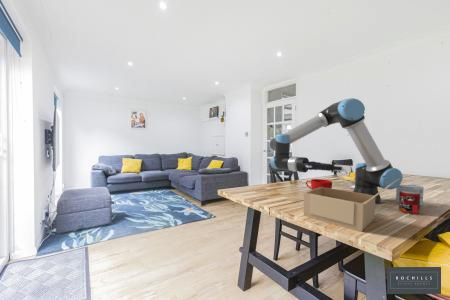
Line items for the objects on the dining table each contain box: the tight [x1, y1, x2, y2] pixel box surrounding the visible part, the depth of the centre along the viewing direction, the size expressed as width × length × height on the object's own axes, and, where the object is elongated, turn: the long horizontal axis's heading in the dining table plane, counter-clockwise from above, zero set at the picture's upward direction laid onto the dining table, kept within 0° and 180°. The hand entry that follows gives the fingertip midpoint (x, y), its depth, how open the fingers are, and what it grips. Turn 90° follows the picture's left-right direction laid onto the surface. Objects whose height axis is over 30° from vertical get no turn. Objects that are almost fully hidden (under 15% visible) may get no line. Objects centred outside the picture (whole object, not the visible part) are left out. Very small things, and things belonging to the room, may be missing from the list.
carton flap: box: [364, 179, 399, 204], centre depth 85 cm, size 12×19×1 cm
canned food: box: [398, 189, 421, 215], centre depth 107 cm, size 8×8×11 cm
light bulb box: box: [395, 184, 424, 206], centre depth 123 cm, size 11×7×11 cm, turn 84°
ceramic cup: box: [305, 178, 333, 190], centre depth 140 cm, size 13×17×10 cm
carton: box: [302, 187, 376, 232], centre depth 97 cm, size 24×21×11 cm
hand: (350, 169), depth 90 cm, fingers closed
